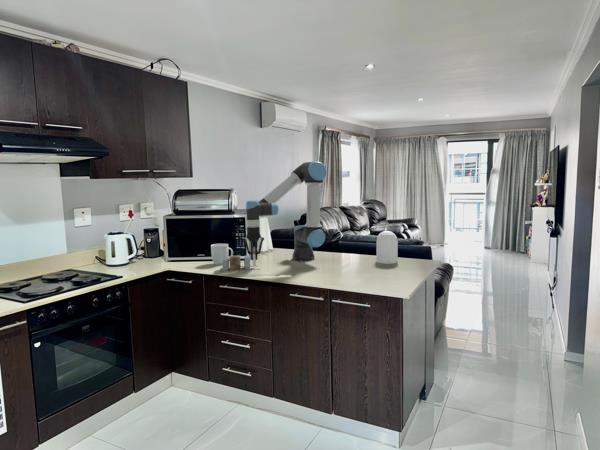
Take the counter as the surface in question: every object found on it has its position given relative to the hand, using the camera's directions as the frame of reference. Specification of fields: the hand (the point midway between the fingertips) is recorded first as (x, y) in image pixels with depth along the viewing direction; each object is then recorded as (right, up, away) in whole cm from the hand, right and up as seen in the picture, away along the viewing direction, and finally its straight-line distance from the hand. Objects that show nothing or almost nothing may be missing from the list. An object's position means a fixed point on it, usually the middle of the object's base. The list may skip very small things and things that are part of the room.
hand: (254, 265), depth 250 cm
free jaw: (-4, -2, 0) cm, 4 cm away
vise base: (-8, -3, 0) cm, 9 cm away
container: (+84, +1, +17) cm, 85 cm away
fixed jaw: (-17, -3, -1) cm, 17 cm away
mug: (-23, -2, +19) cm, 30 cm away
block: (-11, -2, -1) cm, 12 cm away
